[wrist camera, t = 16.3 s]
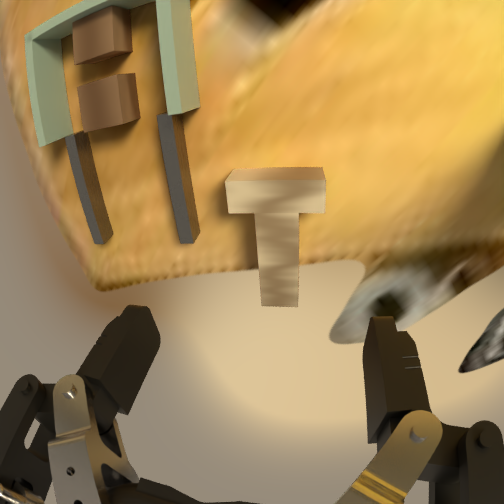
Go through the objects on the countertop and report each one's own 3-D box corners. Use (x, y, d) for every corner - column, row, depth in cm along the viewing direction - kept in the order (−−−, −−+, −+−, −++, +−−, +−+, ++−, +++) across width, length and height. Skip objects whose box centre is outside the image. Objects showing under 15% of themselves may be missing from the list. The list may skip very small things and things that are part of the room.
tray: (188, -18, 15) (168, -32, 12) (200, 107, 21) (182, 113, 18) (53, 34, 17) (24, 35, 14) (66, 135, 23) (39, 147, 20)
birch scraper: (325, 180, 20) (319, 307, 26) (322, 166, 22) (318, 284, 28) (224, 181, 21) (240, 305, 27) (233, 168, 23) (246, 283, 30)
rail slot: (181, 109, 21) (171, 112, 19) (200, 231, 27) (193, 243, 25) (77, 132, 23) (64, 137, 21) (104, 234, 29) (94, 243, 27)
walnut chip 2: (136, 73, 20) (116, 74, 17) (141, 117, 22) (123, 123, 19) (97, 83, 20) (77, 87, 18) (103, 125, 23) (84, 132, 20)
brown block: (131, 10, 17) (112, 5, 14) (133, 51, 19) (114, 50, 16) (93, 24, 17) (72, 22, 15) (95, 63, 19) (74, 64, 17)
